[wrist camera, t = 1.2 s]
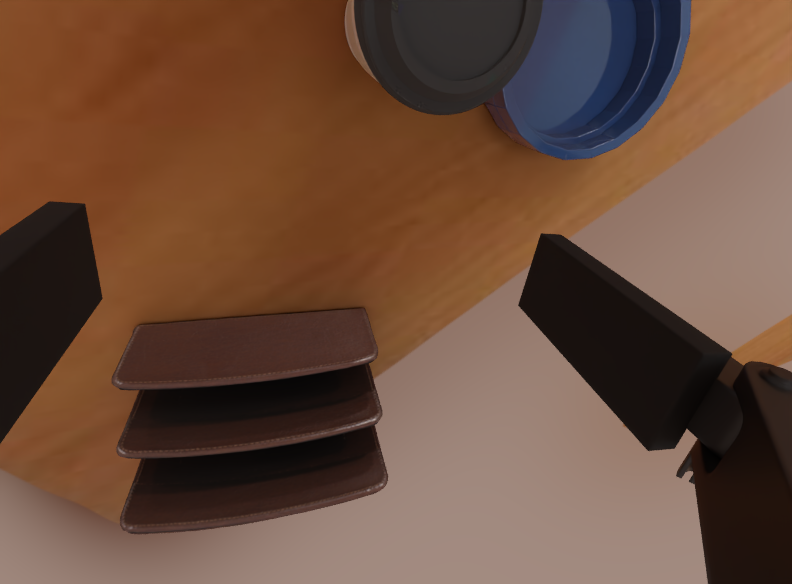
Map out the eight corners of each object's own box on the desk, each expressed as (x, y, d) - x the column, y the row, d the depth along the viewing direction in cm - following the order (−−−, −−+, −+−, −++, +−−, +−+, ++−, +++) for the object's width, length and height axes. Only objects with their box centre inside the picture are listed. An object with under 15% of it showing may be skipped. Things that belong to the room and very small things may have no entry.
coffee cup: (475, 1, 32) (607, -30, 19) (410, 117, 35) (487, 157, 22) (368, -91, 28) (443, -207, 15) (305, 47, 31) (323, 47, 18)
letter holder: (364, 386, 47) (393, 504, 35) (160, 410, 42) (112, 554, 30) (365, 305, 42) (399, 408, 30) (135, 322, 38) (67, 451, 26)
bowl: (523, -102, 30) (560, -124, 26) (679, -17, 34) (729, -25, 31) (449, 121, 36) (470, 130, 32) (591, 166, 40) (624, 179, 37)
